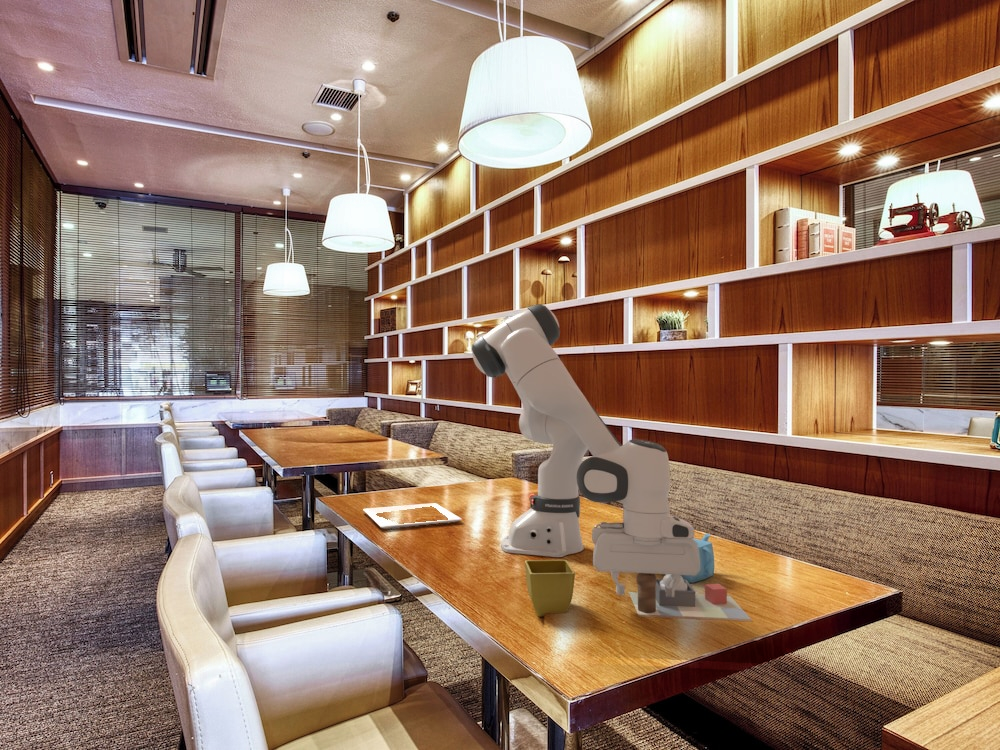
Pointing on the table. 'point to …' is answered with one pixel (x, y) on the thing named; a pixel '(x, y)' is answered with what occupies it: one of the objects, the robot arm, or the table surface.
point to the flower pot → (550, 585)
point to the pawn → (646, 592)
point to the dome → (667, 581)
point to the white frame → (389, 524)
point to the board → (691, 606)
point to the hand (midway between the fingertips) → (644, 595)
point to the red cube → (715, 594)
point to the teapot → (703, 561)
